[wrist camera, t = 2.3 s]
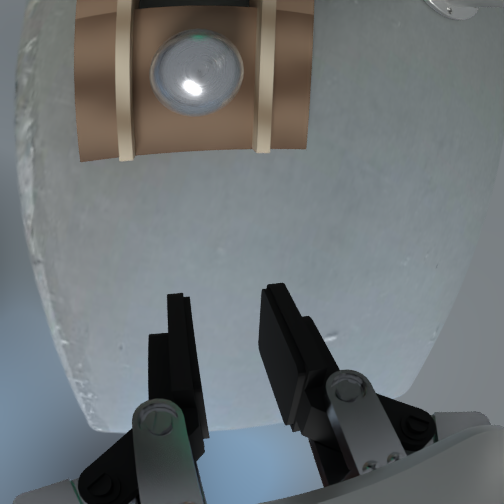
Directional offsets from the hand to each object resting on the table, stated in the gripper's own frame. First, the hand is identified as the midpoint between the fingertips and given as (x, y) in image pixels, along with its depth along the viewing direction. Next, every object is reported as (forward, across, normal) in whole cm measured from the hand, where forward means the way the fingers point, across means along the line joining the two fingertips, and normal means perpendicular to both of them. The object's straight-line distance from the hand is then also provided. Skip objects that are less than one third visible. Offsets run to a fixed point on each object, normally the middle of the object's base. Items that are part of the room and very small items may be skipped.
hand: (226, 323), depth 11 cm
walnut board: (+19, 0, -14) cm, 23 cm away
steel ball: (+13, 0, -8) cm, 16 cm away
